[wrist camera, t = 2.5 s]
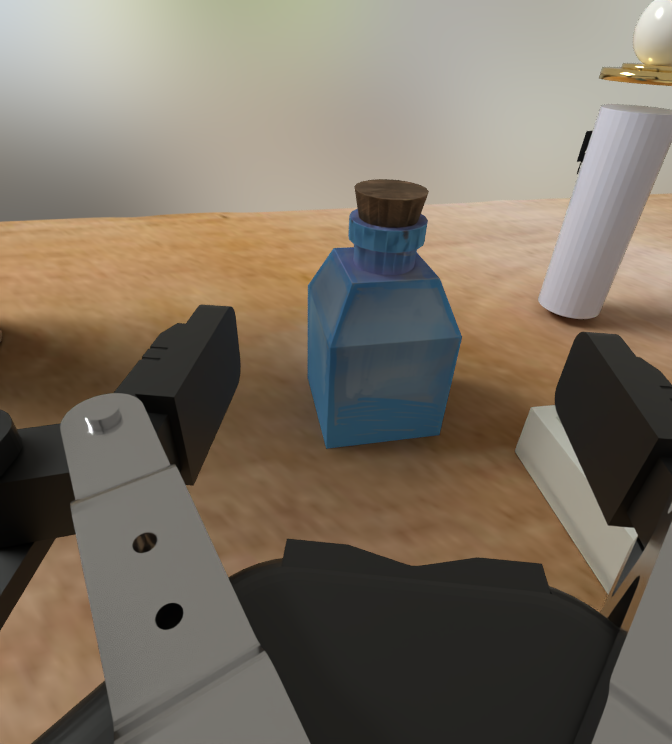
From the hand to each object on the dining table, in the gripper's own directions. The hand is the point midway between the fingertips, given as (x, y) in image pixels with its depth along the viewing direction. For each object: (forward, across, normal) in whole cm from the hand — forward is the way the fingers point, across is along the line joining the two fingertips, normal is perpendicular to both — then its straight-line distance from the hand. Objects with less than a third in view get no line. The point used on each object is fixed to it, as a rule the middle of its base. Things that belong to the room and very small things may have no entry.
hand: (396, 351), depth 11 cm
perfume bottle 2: (+25, -15, +11) cm, 31 cm away
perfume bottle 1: (+12, 0, +11) cm, 16 cm away
